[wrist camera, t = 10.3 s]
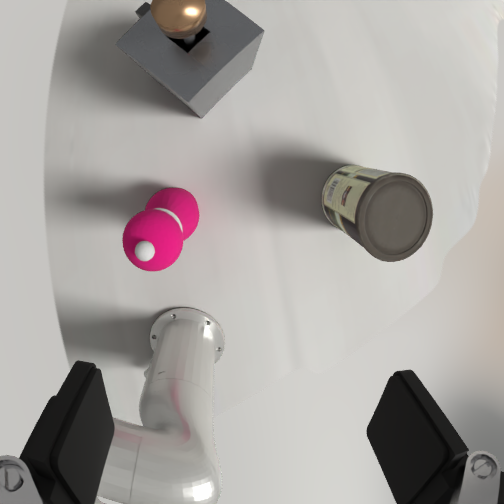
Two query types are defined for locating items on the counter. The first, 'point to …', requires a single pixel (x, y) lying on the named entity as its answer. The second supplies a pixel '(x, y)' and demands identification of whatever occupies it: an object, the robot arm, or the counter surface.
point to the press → (196, 54)
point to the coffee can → (379, 210)
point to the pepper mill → (161, 229)
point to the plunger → (181, 20)
